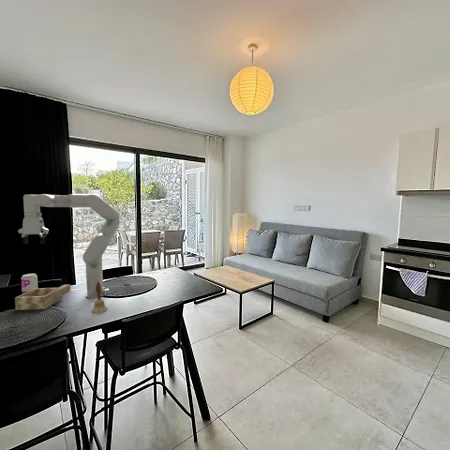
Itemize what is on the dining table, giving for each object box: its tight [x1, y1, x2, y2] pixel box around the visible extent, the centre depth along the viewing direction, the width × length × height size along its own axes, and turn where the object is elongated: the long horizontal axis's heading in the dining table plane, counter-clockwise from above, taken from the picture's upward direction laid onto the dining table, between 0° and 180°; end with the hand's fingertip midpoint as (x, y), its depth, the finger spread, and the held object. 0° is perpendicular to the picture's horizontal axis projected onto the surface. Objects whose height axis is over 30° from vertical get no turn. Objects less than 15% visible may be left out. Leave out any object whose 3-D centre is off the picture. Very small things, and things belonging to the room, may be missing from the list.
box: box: [14, 287, 63, 311], centre depth 148 cm, size 16×16×8 cm
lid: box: [57, 283, 82, 295], centre depth 169 cm, size 17×17×6 cm
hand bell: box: [90, 282, 109, 315], centre depth 139 cm, size 8×8×16 cm
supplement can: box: [20, 273, 39, 295], centre depth 162 cm, size 8×8×15 cm
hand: (34, 243), depth 151 cm, fingers open, 9 cm apart
